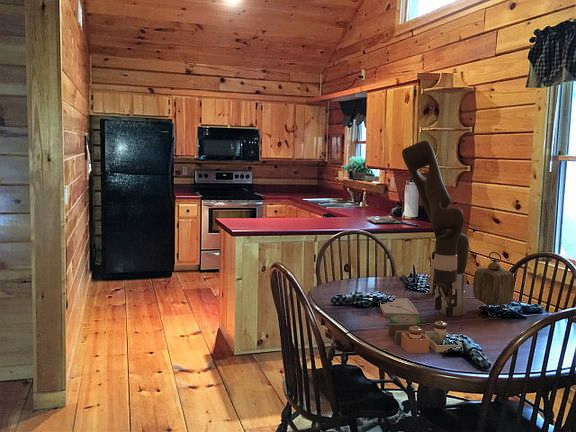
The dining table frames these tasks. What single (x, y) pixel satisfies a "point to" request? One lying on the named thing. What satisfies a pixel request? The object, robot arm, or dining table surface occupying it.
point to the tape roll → (405, 319)
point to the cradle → (399, 331)
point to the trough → (439, 347)
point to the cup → (415, 344)
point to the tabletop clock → (493, 284)
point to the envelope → (399, 308)
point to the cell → (439, 332)
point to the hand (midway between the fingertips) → (443, 313)
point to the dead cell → (415, 332)
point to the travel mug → (432, 272)
